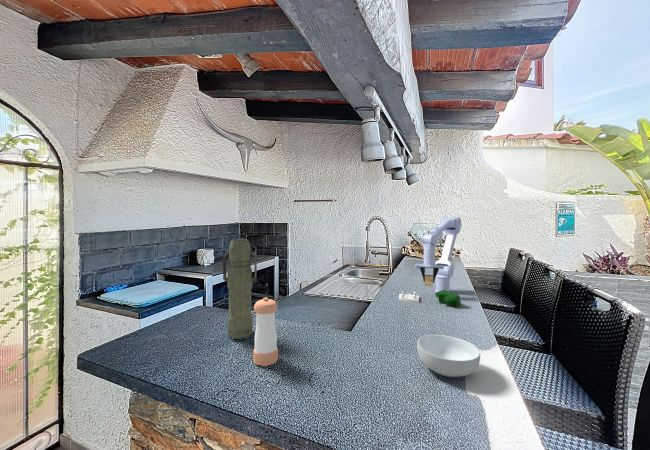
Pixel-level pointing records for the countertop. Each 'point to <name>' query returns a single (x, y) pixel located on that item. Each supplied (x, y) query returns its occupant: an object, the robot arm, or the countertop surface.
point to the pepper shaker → (265, 333)
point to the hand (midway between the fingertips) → (428, 281)
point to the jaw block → (428, 280)
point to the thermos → (239, 288)
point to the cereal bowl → (448, 355)
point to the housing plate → (409, 297)
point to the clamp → (448, 298)
